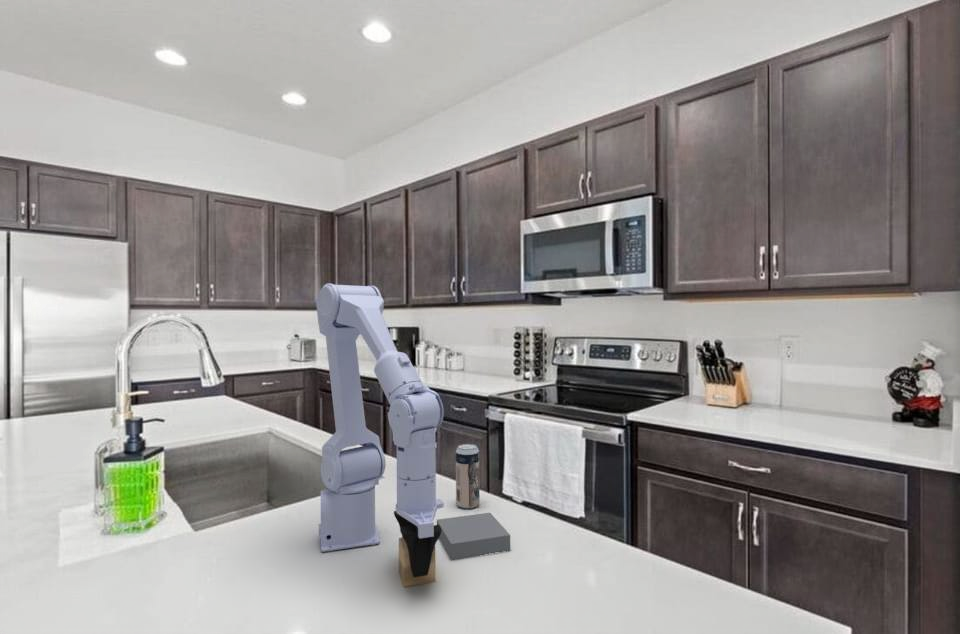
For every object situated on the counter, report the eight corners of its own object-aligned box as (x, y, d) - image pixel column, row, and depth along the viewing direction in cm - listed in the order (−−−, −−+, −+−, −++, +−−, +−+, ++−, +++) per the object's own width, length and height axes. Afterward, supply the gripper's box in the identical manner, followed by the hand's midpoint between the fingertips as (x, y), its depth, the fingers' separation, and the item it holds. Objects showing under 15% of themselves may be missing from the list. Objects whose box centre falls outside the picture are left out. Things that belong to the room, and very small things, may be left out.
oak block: (403, 587, 69) (403, 551, 69) (398, 571, 74) (398, 538, 74) (435, 581, 71) (435, 546, 71) (428, 566, 75) (428, 533, 75)
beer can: (476, 510, 97) (476, 450, 97) (453, 509, 98) (453, 448, 98) (481, 501, 102) (481, 444, 102) (459, 500, 103) (458, 443, 103)
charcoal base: (451, 563, 77) (451, 544, 77) (436, 536, 86) (436, 519, 86) (510, 553, 80) (510, 535, 80) (490, 528, 90) (490, 512, 90)
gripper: (455, 487, 67) (455, 587, 67) (432, 458, 80) (432, 541, 80) (403, 493, 65) (404, 596, 64) (389, 462, 78) (389, 547, 78)
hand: (416, 566), depth 72 cm, fingers closed on oak block, 5 cm apart
